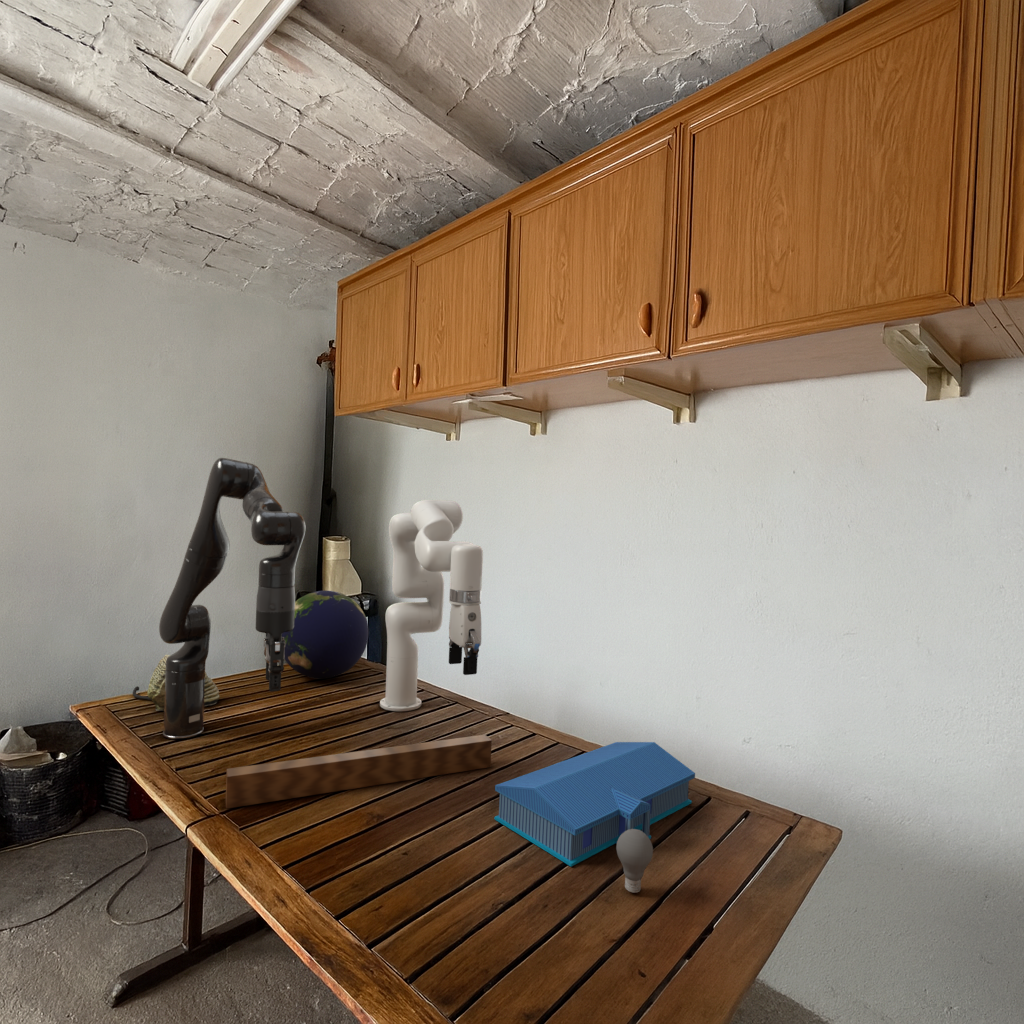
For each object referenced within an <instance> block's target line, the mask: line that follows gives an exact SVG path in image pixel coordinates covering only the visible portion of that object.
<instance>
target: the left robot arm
mask: <svg viewBox="0 0 1024 1024" xmlns="http://www.w3.org/2000/svg"><path fill="white" fill-rule="evenodd" d="M223 497H224V498H229V499H236V500H242V504H241V505H242V507H241V508H242V511H243V513H244V515H245V516H246V518H247V519H248V520H249V521H250V524H251V527H250V530H251V533H250V534H251V538H252V540H253V541H254V542H255V543H256V544H259V545H261V546H283V547H282V548H281V550H280V551H279V553H276V554H275V555H271V556H270V555H269V556H266V557H264V558H262V559H261V560H260V561H259V564H258V587H257V593H256V601H255V603H256V604H255V605H256V608H255V630H256V631H257V632H259V633H261V634H265V637H264V638H263V655H264V661H265V680H267V681H268V691H269V692H271V693H272V692H279V691H281V690H282V673H283V672H284V670H285V665H284V662H285V659H284V658H285V655H284V648H285V640H284V637H282V633H283V632H288V631H291V630H293V628H294V615H295V602H296V592H295V579H296V578H295V575H296V574H295V573H296V565H297V560H298V557H299V554H300V550H301V547H302V544H303V540H304V539H305V534H306V529H307V528H306V522H305V519H304V517H303V516H302V514H300V513H299V512H296V511H284V508H283V506H282V505H281V504H280V502H279V501H278V500H277V499H276V497H274V496H273V495H272V494H271V492H270V489H269V487H268V485H267V482H266V479H265V477H264V475H263V472H262V470H261V469H260V468H259V466H257V465H256V464H254V463H251V462H247V461H242V460H237V459H232V458H228V457H227V458H226V457H219V458H217V459H216V460H215V461H214V462H213V464H212V466H211V468H210V471H209V474H208V479H207V483H206V487H205V490H204V495H203V498H202V499H203V500H202V503H201V507H200V510H199V514H198V517H197V521H196V523H195V526H194V529H193V531H192V533H191V537H190V539H189V543H188V545H187V547H186V552H185V554H184V559H183V561H182V564H181V568H180V570H179V574H178V576H177V579H176V582H175V584H174V587H173V589H172V591H171V593H170V595H169V598H168V599H167V601H166V604H165V607H164V609H163V611H162V613H161V616H160V619H159V625H158V632H159V637H160V638H161V641H163V642H164V643H166V644H169V645H177V644H183V645H182V646H181V647H180V648H179V649H178V650H177V651H175V652H173V653H172V654H169V655H170V656H169V657H168V658H167V660H166V674H165V705H164V710H163V731H162V737H164V738H166V739H169V740H185V739H190V738H191V739H192V738H194V737H197V736H199V735H202V734H203V732H204V730H205V729H204V722H205V721H204V718H205V706H204V693H205V672H206V664H207V663H206V662H207V658H208V655H209V651H210V638H211V628H212V627H211V626H212V621H211V614H210V612H209V610H208V608H207V607H206V606H205V605H203V604H194V602H195V600H196V599H197V598H198V597H199V596H200V594H201V593H202V592H203V591H204V590H205V589H207V587H209V586H210V585H211V583H213V582H214V581H215V579H216V578H218V576H219V575H220V574H221V572H222V571H223V569H224V566H225V563H226V560H227V557H228V555H229V552H230V547H231V544H230V539H229V535H228V534H227V533H228V532H227V530H226V527H225V525H224V523H223V519H222V516H221V511H220V509H221V508H220V507H221V506H220V505H221V501H222V499H223ZM138 691H140V686H138V685H136V686H135V687H134V688H133V691H132V697H134V698H136V699H140V700H145V701H152V700H151V699H150V698H149V697H148V695H147V696H146V695H139V694H137V692H138Z"/></svg>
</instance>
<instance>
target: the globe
mask: <svg viewBox="0 0 1024 1024" xmlns="http://www.w3.org/2000/svg"><path fill="white" fill-rule="evenodd" d="M282 637H284V640H285V648H284V655H285V658H284V662H286V664H287V665H288V666H289V667H290V668H291V669H293V670H294V671H295V672H296V673H297V674H300V675H302V676H303V677H307V678H310V679H316V680H324V679H331V678H335V677H338V676H340V675H342V674H344V673H346V672H348V671H349V670H351V669H352V668H353V667H354V666H355V665H357V663H358V662H359V661H360V660H361V658H362V656H363V654H364V652H365V650H366V648H367V645H368V641H369V623H368V620H367V617H366V614H365V612H364V611H363V609H362V608H361V606H360V605H359V604H358V603H357V602H356V600H354V599H353V598H351V597H350V596H348V595H346V594H344V593H341V592H339V591H335V590H318V591H312V592H309V593H307V594H305V595H302V596H301V597H299V598H298V599H297V600H295V615H294V628H293V630H291V631H288V632H283V633H282Z"/></svg>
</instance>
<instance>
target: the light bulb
mask: <svg viewBox="0 0 1024 1024" xmlns="http://www.w3.org/2000/svg"><path fill="white" fill-rule="evenodd" d="M615 849H616V854H617V857H618V859H619V861H620V863H621V865H622V867H623V873H624V874H623V875H624V876H625V878H624V888H625V890H627V891H628V892H630V893H634V894H635V893H639V892H640V891H641V889H642V887H641V886H642V879H643V877H644V875H645V871H646V868H647V867H648V866H649V864H650V863H651V861H652V859H653V855H654V847H653V843H652V841H651V839H649V838H648V836H647V835H646V834H645V833H644V832H642V830H641V831H640V830H637V829H629V830H627V831H625V832H623V833H622V834H621V835H620V837H619V839H618V841H617V844H616V847H615Z"/></svg>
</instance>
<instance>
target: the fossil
mask: <svg viewBox="0 0 1024 1024" xmlns="http://www.w3.org/2000/svg"><path fill="white" fill-rule="evenodd" d="M170 655H171V654H165V655H164V656H163V657H162V658H161V659H160V660H159V662H158V663H157V666H156V667H155V669H154V670H153V672H152V675H151V677H150V680H149V684H148V688H147V697H149V698H150V699H151V700H150V701H152V703H153V704H154V706H155V711H158V712H159V711H162V712H163V711H164V705H165V674H166V660H167V658H168V657H169V656H170ZM220 698H221V696H220V690H219V688H218V686H217V685H216V683H215V682H214V681H213V679H212V678H211V677H209V675H208V674H207V672H206V671H205V693H204V707H207V706H213V705H215V704H217V703H218V701H219V699H220Z"/></svg>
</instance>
